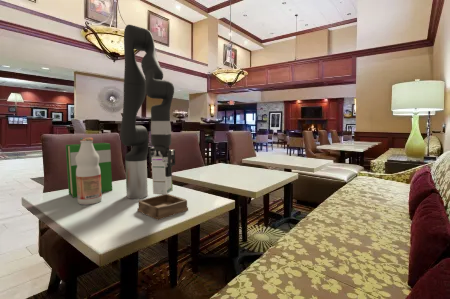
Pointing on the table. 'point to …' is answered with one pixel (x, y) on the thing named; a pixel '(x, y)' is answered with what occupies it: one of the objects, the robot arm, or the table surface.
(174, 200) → the socket stand
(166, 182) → the syrup box
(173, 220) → the table surface
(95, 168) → the fruit juice
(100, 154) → the hardback book
